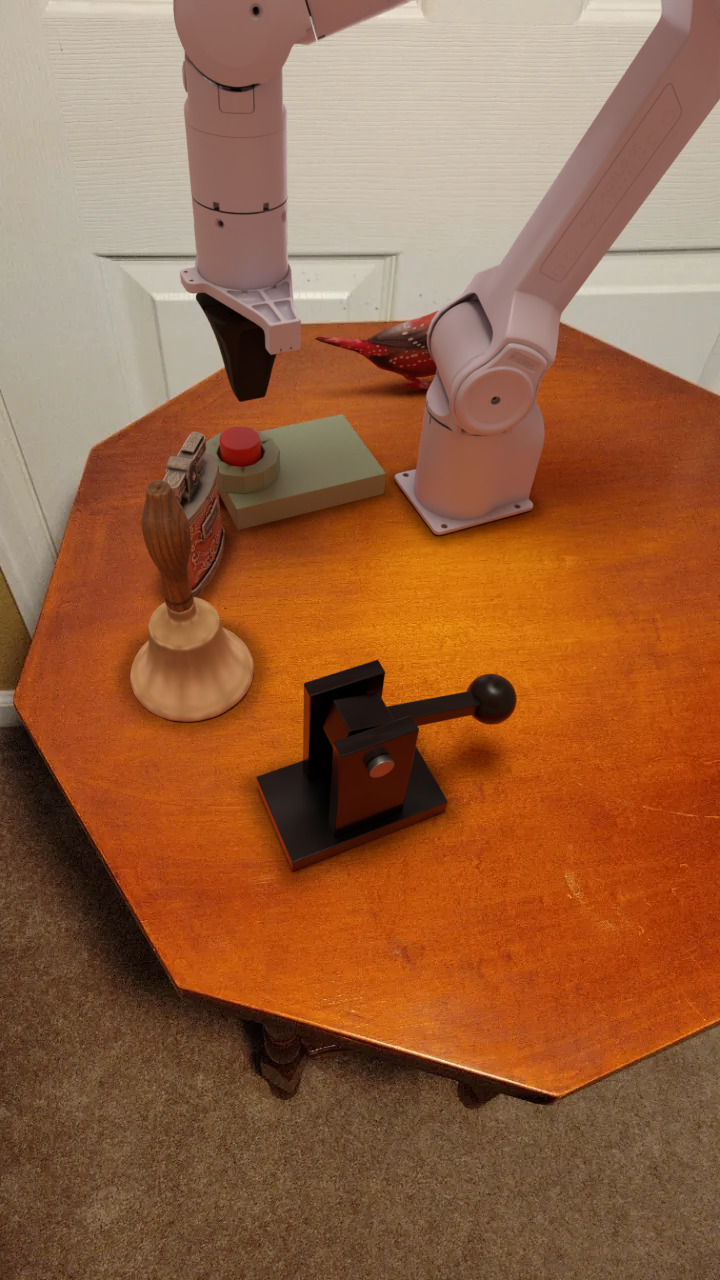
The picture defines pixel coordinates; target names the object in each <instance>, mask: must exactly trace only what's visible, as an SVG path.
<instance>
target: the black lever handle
mask: <svg viewBox="0 0 720 1280" xmlns="http://www.w3.org/2000/svg"><path fill="white" fill-rule="evenodd" d="M517 702H518V699H517V692H516V688H515V687H514V686H513V684H512V682H510V681H509V679H508V678H506V677H504V676H503V675H500V674H497V673H485V674H482V675H479V676H477V677H476V678H474V679H473V680H472V681H471V682H470V684H469V685H468V687H467V689H466V691H461V692H457V693H456V692H455V693H451V694H445V695H440V696H435V697H430V698H423V699H420V700H414V701H409V702H402V703H398V704H393V705H387V704H386V703H385V701H384V700H383V697H382V698H381V696H380V694H379V693H378V692H375V693H369V694H364V695H358V696H352V697H347V698H341V699H335V700H333V702H332V705H331V707H330V710H329V712H328V715H327V718H326V720H325V723H324V725H323V729H324V731H325V733H326V735H327V737H328V739H329V741H330V743H331V745H332V747H333V744H334V742H335V741H338V740H341V739H344V738H347V737H349V736H352V735H355V734H358V733H361V732H364V731H367V730H370V729H372V728H375V727H378V726H381V725H384V724H387V723H390V722H393V721H395V720H398V719H401V718H404V717H407V716H410V715H411V716H412V718H413V720H414V721H415V723H416V725H417V726H418V727H420V726H425V725H430V724H436V723H440V722H444V721H445V722H446V721H450V720H454V719H459V718H460V719H461V718H464V717H469V716H471V717H472V718H474V720H476V721H477V722H479V723H482V724H484V725H491V726H492V725H498V724H501V723H503V722H505V721H506V720H508V719H509V718H510V717H511V716H512V715H513V713H514V712H515V709H516V708H517Z"/></svg>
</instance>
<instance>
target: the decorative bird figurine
mask: <svg viewBox="0 0 720 1280" xmlns="http://www.w3.org/2000/svg"><path fill="white" fill-rule="evenodd" d="M439 310H440V309H438V310H436V311H433V312H431V313H428V314H426V315H422V316H420V317H416V318H413V319H410V320H406V321H403V322H401V323H397V324H395V325H393V326H391V327H388V328H387V329H384V330H382V331H380V332H378V333H376V334H374V335H372V336H371V337H368V338H366V339H365V338H364V339H361V338H347V337H334V336H333V337H332V336H317V337H315V338H314V340H316V341H318V342H319V343H324V344H327V345H330V346H334V347H336V348H337V347H338V348H341V349H344V350H348V351H352V352H355V353H357V354H359V355H361V356H363V357H364V358H365V359H367V360H368V361H369V362H371V363H372V364H373V365H375V366H376V367H377V368H378V369H381V370H383V371H388V372H391V373H395V374H398V375H400V376H402V377H403V378H404V379H406V380H408V381H409V382H408V383H405V384H403V385H402V386H400V387H399V388H398V390H401V389H404V388H406V390H407V391H409V390H410V391H411V390H419V389H421V390H427V391H428V389H429V387H430V385H431V383H432V381H423V380H422V379H419V378H428V377H430V376H431V377H432V376H435V375H436V371H437V366H436V363H435V362H434V361H433V359H432V357H431V355H430V353H429V350H428V346H427V333H428V329H429V326H430V323H431V321H432V319H433V318H434V316H435V315H436V313H437V312H438V311H439ZM410 382H411V383H410Z"/></svg>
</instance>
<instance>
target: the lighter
mask: <svg viewBox="0 0 720 1280" xmlns="http://www.w3.org/2000/svg"><path fill="white" fill-rule="evenodd" d="M206 441H207V439H206V435H205V434H203V433H201V432H197V431H192V432H191V433H190V434H189V435H188V436H187V438H186V439H185V441H184V443H183V445H182V446H181V448H180V450H179V451H178V453H177V455H170V456H169V457H168V459H167V462H166V468H165V474H164V475H165V476H164V478H162V481H165V482H167V483H168V484H169V485H170V486H171V489H172V491H173V493H174V495H175V497H176V498H177V500H178V501H179V503H180V504H181V506H182V508H183V510H184V512H185V514H186V516H187V519H188V522H189V528H190V534H191V552H190V558H189V562H188V566H187V572H188V578H189V582H190V586H191V590H192V594H193V597H196V598H199V597H200V595H201V594H202V593H203V591H205V589H206V587H207V586H208V585H209V584H210V582H211V580H212V579H213V577H214V575H215V573H216V572H217V570H218V568H219V565H220V562H221V559H222V557H223V554H224V548H225V542H226V534H225V529H224V527H223V526H222V519H221V517H222V516H221V509H220V494H219V492H218V484H217V480H218V475H219V465H218V460H217V458H216V457H214V456H213V455H211V454H208V453H205V451H206Z"/></svg>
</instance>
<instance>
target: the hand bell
mask: <svg viewBox="0 0 720 1280" xmlns="http://www.w3.org/2000/svg"><path fill="white" fill-rule="evenodd" d="M162 480H163V479H162ZM162 480H160V479H157V480H153V481H151V482H149V483H148V484H147V486H146V488H145V501H144V505H143V510H142V513H141V514H142V515H141V531H142V535H143V541H144V543H145V547H146V550H147V553H148V555H149V557H150V558H151V561H152V562H153V564H154V566H155V567H156V568H157V569H158V571H159V573H160V576H161V580H162V588H163V595H164V602H163V603H161V604H160V605H158V606H157V608H155V610H154V611H153V613H152V614H151V616H150V618H149V621H148V627H147V628H148V640H147V641H146V642H145V643H144V644H143V645H142V646H141V648H140V649H139V650H138V652H137V653H136V655H135V657H134V659H133V661H132V664H131V667H130V673H129V674H130V675H129V680H130V687H131V690H132V692H133V695H134V696H135V698H136V700H137V701H138V703H139V704H140V705H141V706H142V707H143V708H144V709H145V710H147V711H148V712H150V713H151V714H153V715H155V716H157V717H159V718H162V719H165V720H168V721H175V722H183V723H186V722H187V723H188V722H189V723H191V722H200V721H204V720H209V719H212V718H216V717H217V716H220V715H222V714H224V713H225V712H228V711H229V710H230V709H232V708H233V707H234V706H236V705H237V704H238V703H240V701H241V700H242V699H243V698H244V697H245V696H246V695H247V693H248V691H249V689H250V688H251V685H252V682H253V679H254V673H255V664H254V658H253V656H252V653H251V650H250V649H249V647H248V646H247V645H246V643H245V642H244V641H243V640H242V639H241V638H240V637H239V636H238V635H236V633H234V632H232V631H230V629H227V628H224V627H223V625H222V622H221V619H220V616H219V613H218V611H217V609H216V608H215V607H214V606H213V605H212V604H211V603H210V602H208V601H207V600H205V599H202V598H199V597H197V598H196V597H193V594H192V590H191V586H190V582H189V578H188V572H187V566H188V562H189V558H190V552H191V534H190V528H189V522H188V519H187V516H186V514H185V512H184V510H183V508H182V506H181V504H180V503H179V501H178V500H177V498H176V497H175V495H174V493H173V491H172V489H171V486H170V485H169V484H168V483H167V482H165V481H162Z"/></svg>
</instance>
